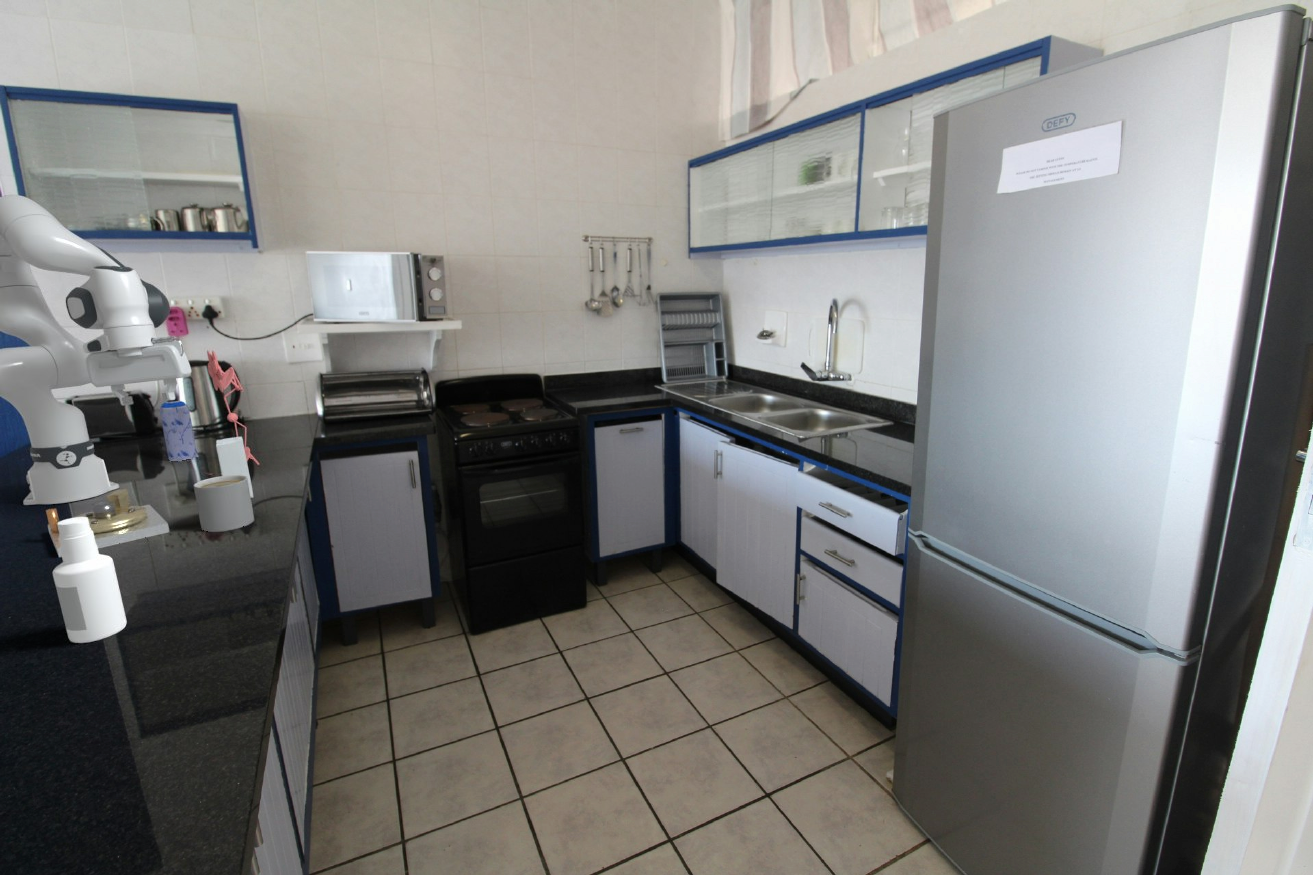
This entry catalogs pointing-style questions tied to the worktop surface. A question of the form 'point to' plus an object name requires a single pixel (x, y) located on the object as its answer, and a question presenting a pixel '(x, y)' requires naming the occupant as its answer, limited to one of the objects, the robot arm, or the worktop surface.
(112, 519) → the flange plate
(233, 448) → the skincare box
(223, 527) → the coffee mug
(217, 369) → the figurine
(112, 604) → the white bottle
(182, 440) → the aerosol can
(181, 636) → the worktop surface
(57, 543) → the base plate
